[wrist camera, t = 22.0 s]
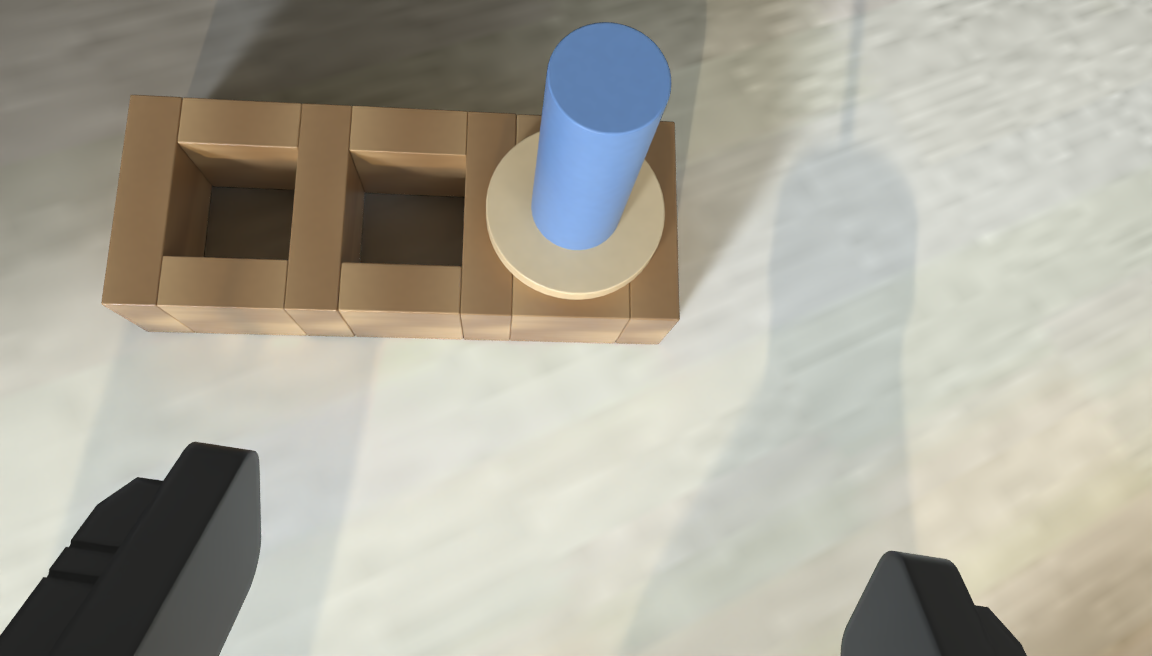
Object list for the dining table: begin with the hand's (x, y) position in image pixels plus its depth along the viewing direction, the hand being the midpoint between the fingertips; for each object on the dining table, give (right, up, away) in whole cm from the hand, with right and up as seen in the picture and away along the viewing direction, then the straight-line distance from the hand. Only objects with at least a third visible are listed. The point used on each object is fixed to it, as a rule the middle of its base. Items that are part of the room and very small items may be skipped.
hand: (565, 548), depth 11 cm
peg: (0, +6, +23) cm, 24 cm away
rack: (-6, +6, +23) cm, 25 cm away
